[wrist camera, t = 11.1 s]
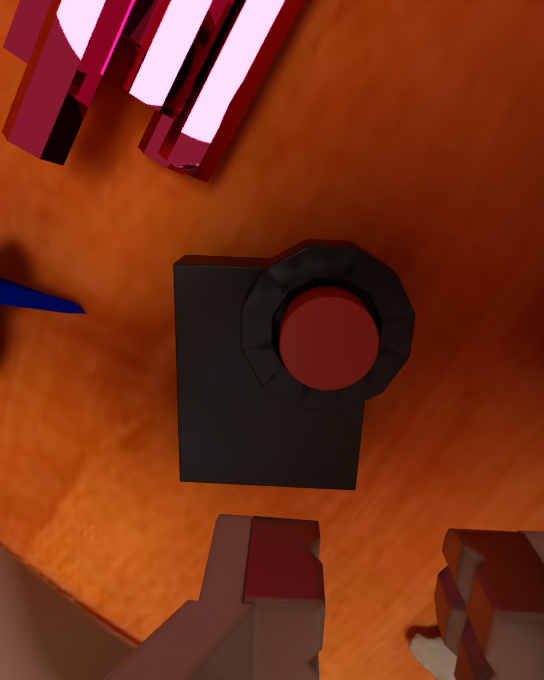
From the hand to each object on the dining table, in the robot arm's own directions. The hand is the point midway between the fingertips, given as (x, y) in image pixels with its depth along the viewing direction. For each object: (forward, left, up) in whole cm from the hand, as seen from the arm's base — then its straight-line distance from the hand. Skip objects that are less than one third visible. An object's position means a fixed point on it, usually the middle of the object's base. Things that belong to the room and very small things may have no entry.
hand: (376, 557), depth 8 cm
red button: (0, 0, -12) cm, 11 cm away
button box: (+2, +3, -15) cm, 16 cm away
